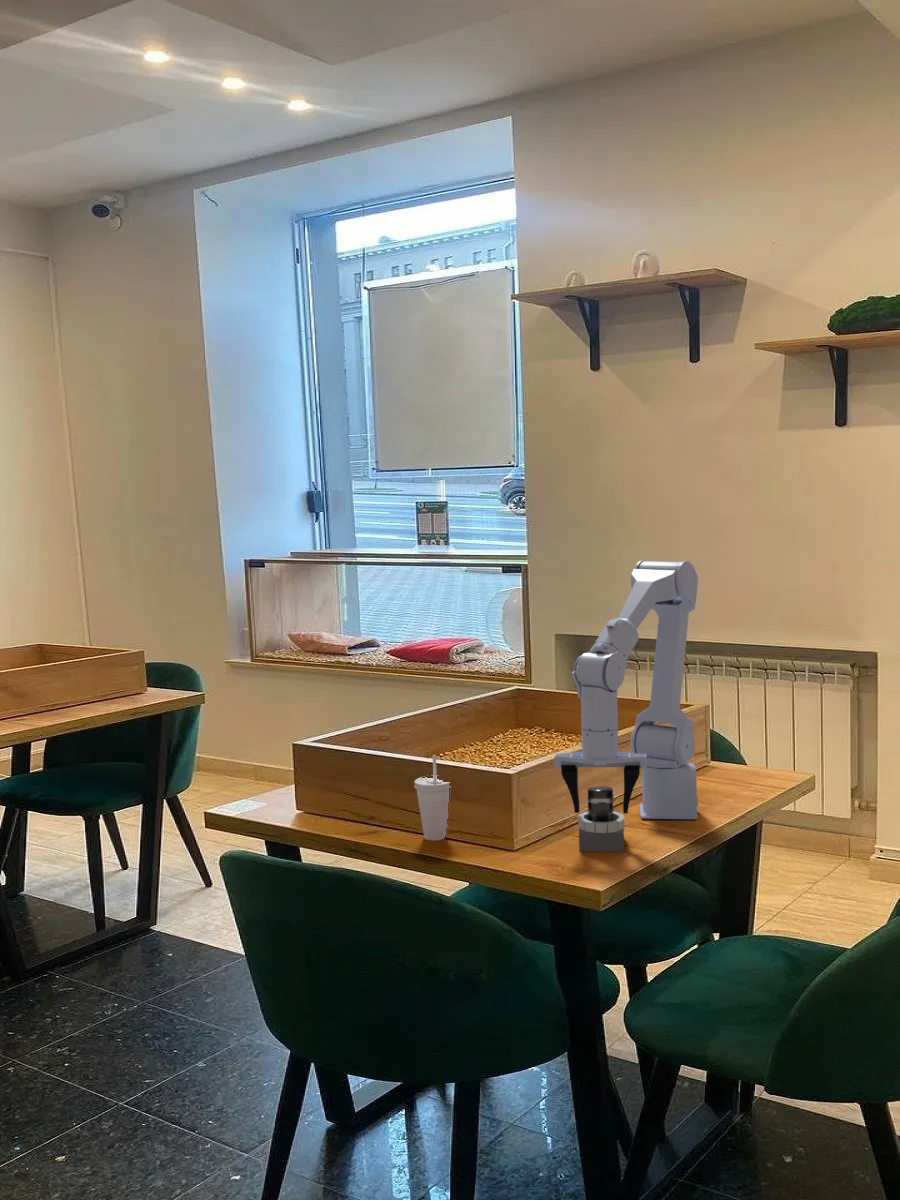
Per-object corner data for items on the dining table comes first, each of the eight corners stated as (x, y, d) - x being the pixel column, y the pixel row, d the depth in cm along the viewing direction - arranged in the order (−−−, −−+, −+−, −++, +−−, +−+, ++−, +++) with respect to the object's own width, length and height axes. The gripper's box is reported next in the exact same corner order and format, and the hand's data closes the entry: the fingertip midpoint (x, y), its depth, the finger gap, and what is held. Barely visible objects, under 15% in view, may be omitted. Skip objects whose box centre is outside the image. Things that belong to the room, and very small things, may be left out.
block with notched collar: (624, 837, 184) (624, 810, 184) (625, 851, 177) (624, 824, 177) (579, 836, 185) (579, 810, 185) (578, 851, 178) (577, 823, 178)
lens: (613, 822, 183) (612, 785, 182) (614, 829, 179) (614, 792, 178) (587, 822, 183) (586, 786, 183) (588, 830, 179) (587, 793, 179)
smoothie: (429, 845, 183) (426, 761, 182) (408, 836, 189) (405, 754, 187) (462, 838, 187) (459, 755, 186) (440, 828, 192) (438, 748, 191)
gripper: (552, 733, 177) (554, 818, 178) (646, 733, 174) (647, 819, 176) (554, 723, 184) (556, 805, 185) (645, 723, 181) (646, 806, 183)
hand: (601, 811), depth 181 cm, fingers open, 7 cm apart
